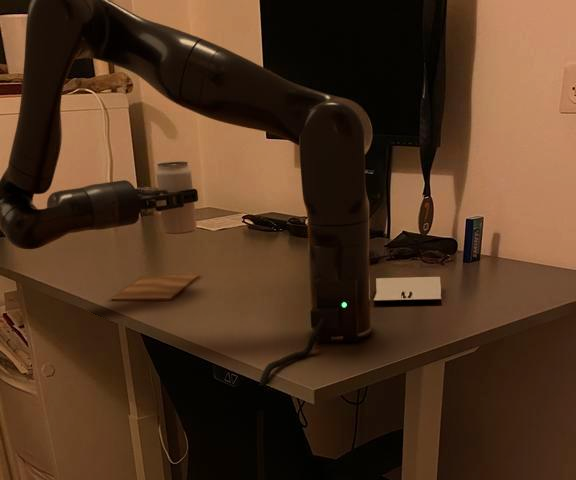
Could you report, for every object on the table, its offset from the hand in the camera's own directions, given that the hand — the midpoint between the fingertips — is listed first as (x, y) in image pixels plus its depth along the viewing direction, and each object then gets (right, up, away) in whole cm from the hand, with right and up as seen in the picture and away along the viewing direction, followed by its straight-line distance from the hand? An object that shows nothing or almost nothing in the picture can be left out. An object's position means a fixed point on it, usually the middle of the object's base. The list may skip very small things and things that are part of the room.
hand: (186, 193), depth 150 cm
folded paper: (+41, -21, -7) cm, 47 cm away
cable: (+33, -7, +20) cm, 39 cm away
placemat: (-7, -15, +10) cm, 20 cm away
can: (-1, -7, +2) cm, 7 cm away
